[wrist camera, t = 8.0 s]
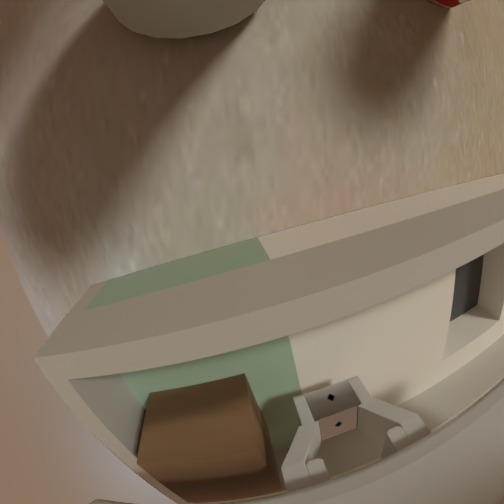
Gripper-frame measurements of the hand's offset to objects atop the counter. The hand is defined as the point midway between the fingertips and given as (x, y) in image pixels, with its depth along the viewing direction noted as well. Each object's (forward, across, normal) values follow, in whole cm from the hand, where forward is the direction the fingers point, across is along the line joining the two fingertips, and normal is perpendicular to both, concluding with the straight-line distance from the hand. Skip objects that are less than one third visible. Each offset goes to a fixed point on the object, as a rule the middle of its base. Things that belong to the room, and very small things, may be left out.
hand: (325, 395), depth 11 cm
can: (+4, +1, -19) cm, 20 cm away
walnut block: (+1, +5, 0) cm, 5 cm away
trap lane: (+4, -8, 0) cm, 9 cm away
